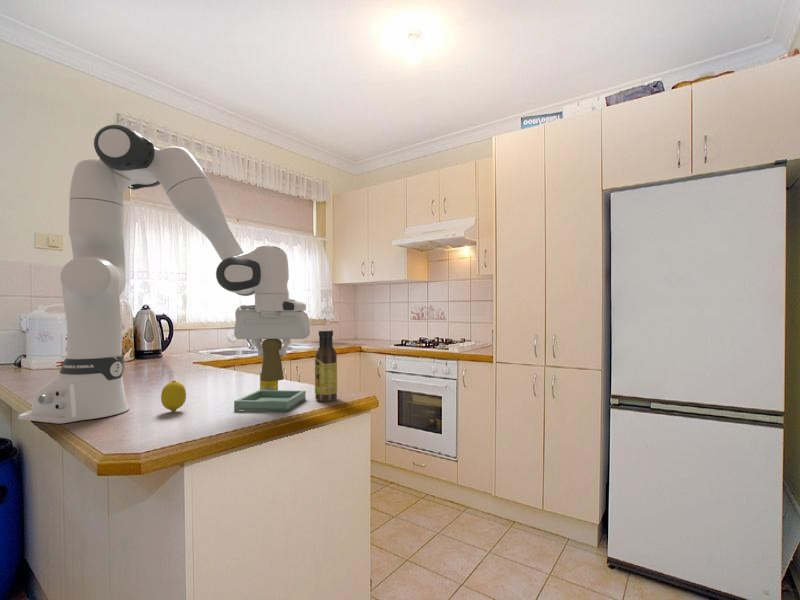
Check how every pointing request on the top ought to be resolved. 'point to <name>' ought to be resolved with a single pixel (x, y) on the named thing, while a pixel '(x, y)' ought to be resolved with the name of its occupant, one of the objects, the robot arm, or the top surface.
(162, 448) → the top surface
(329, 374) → the sauce bottle
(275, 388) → the supplement bottle
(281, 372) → the cork
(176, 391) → the lemon
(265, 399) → the tray
